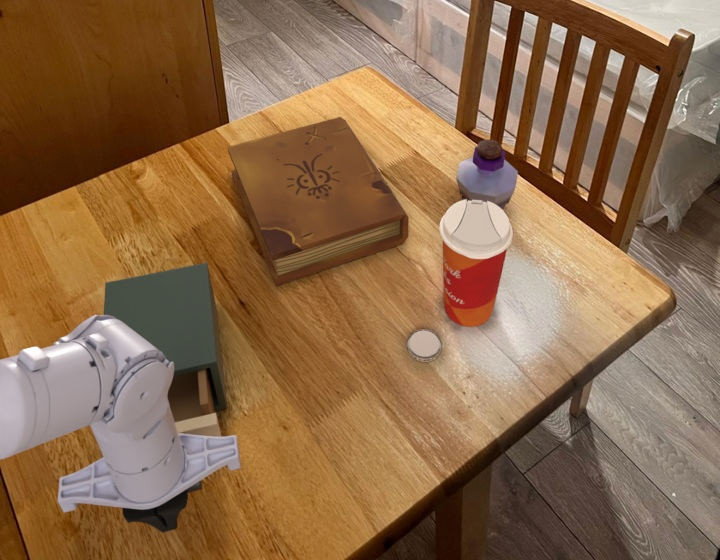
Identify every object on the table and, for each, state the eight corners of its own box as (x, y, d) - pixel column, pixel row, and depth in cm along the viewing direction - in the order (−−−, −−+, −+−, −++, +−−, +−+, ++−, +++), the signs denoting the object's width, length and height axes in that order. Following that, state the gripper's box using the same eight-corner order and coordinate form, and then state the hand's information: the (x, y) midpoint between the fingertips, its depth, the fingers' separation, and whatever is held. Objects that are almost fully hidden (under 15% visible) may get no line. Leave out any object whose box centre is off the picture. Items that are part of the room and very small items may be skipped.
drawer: (230, 502, 71) (220, 466, 67) (119, 531, 69) (103, 495, 65) (215, 355, 84) (207, 318, 80) (123, 376, 82) (110, 339, 78)
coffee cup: (436, 277, 94) (441, 192, 85) (501, 283, 93) (513, 198, 84) (432, 332, 87) (437, 246, 79) (502, 340, 86) (515, 253, 78)
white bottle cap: (443, 335, 87) (444, 332, 86) (438, 364, 84) (438, 361, 83) (410, 329, 88) (410, 325, 87) (404, 357, 84) (404, 354, 84)
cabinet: (227, 408, 80) (216, 361, 75) (118, 434, 78) (99, 387, 73) (216, 308, 91) (207, 262, 86) (120, 329, 89) (105, 282, 84)
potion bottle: (525, 206, 104) (534, 141, 97) (495, 242, 99) (503, 176, 92) (472, 181, 108) (478, 117, 102) (441, 215, 103) (444, 150, 96)
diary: (408, 242, 99) (408, 212, 96) (275, 286, 93) (271, 256, 90) (346, 143, 116) (345, 114, 113) (232, 175, 111) (227, 145, 108)
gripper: (226, 373, 62) (244, 456, 70) (48, 413, 60) (88, 495, 68) (234, 452, 57) (253, 533, 65) (39, 501, 54) (83, 578, 62)
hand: (169, 519), depth 66 cm, fingers closed
